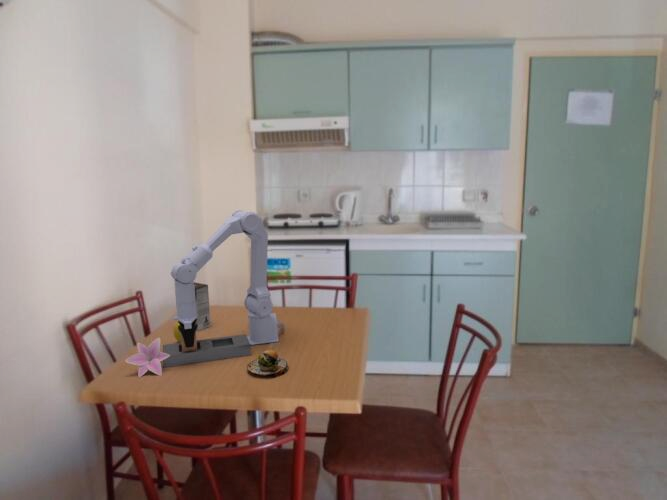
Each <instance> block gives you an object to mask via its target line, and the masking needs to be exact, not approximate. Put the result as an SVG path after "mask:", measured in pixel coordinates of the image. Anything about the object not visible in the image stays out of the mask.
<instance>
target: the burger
mask: <svg viewBox="0 0 667 500" xmlns="http://www.w3.org/2000/svg"><path fill="white" fill-rule="evenodd" d="M274 346H275V345H273V346H272V349H267V350H264V351H263V353H262V355H263V356H264V357H262V356H261V355H260V354H259V355H258V357H257V359H254V360H252V361H250V362H249V363H248V364H247V365H246V369H247V370H248V371H249V372H250V373H252V374H255V375H259V376H270V375H272V376H273V375H274V378H276V377H280V376H282V373H283V372H284V373H287V372H288V368H289V366H288V362H287V361H286V360H285V359H283V358H280V357H279V355H278V353H277V351H275V350H273V349H274Z"/></svg>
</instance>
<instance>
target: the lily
mask: <svg viewBox="0 0 667 500" xmlns="http://www.w3.org/2000/svg"><path fill="white" fill-rule="evenodd" d="M160 349H161V338H160V337H157V338H156V339H154V340H153V341H151V342H150V344H148V346H147V345H145V344H143V343H141V342H137V351H138V352H137V353H135V354H132V355H131V356H129V357H127V358H126V359H125V360H124V362H125V363H127V364H130V365H135V366H138V371H137V374H138V375H137V376H138V377H139V378H140V377H142V376H143V375H145V374H146V373H147V372H148V371H150V372H152V373H153V374H156V375H158V376H162V375H163V370H162V364H161V362H163V360H164V359H166V358H168V357H169V356H170V355H169V354H167V353H163V352H162V351H161V350H160Z"/></svg>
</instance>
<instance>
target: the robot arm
mask: <svg viewBox="0 0 667 500" xmlns="http://www.w3.org/2000/svg"><path fill="white" fill-rule="evenodd" d="M242 233H244V234H245V235H246V236H247V237H248V238H249V239H250V240H251V241H250V279H249V280H250V282H249V283H250V285H249V288H247V290H246V291H247V292H246V296H245V299H244V301H243V302H244V303H243V304H244V308H245V309H246V310H247V318H248V331H249V332H248V336H247V335H246V336H247V338H248V340H249V343H250V346H253V345H262V344H267V343H268V344H269V343H270V344H271V343H275V342H276V343H277V342H279V334H278V333H279V330H278V319H277V313H275V312H273V308H274V304H273V302H272V299H271V293H270V290H269V289H268V287H267V286H268V285H267V283H268V281H267V280H268V250H269V249H268V248H269V247H268V246H269V243H268V242H269V241H268V239H269V236H268V235H269V234H268V231H267V229H266V227H265V225H264V223H263V218H262V217H261V216H259V215H258V214H257V213H255V212H252V211H244V210H240V209H239V210H235V211H234V212H232V214H231V215H230V216H228V217H226V220H225V221H224V223H222V224H221V225H220V227H219V228H218V229H217V230H216V231H215V232H214V233H213V234H212V236H210V238H209V239H207V240H206V242H205V243H202V244H201V243H200V244H199V243H198V245H193V247H191V249H192V250H191V251H190V252H189V253H188V254H187V255H186V256H185V257H182V258H181V259H180V261H181V262H177V263H175V264H174V265H173V266H172V269H171V272H170V275H171V277H172V279H174V293H175V294H174V295H175V303H176V315H173V320H174V321H177V323H179V324H180V325H179V326H178V329H179V331H180V332H181V334H182V336H183V339H184V343H185V346H186V348H188V347H193V345H194V337H195V332H196V333H197V330H196V329H197V327H198V324H196V325H195V323H196V321H197V317H198V316H197V312H196V300H195V288H194V282H195V280H196V278H197V274H198V272H200V270H201V269H202V268H203V267H205V266H206V264H207V263H209V261H210V260H212V258H213V256H214V255H213V254H214V253H213V252H214V251H215V250H216V249H217V248H218V247H219V246H221V245H222V244H223V243H224V242H226V240H227V239H229V237H230V236H232V235H237V234H242Z"/></svg>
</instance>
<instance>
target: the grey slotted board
mask: <svg viewBox="0 0 667 500" xmlns="http://www.w3.org/2000/svg"><path fill="white" fill-rule="evenodd" d="M196 341H197V350H190V351H182V342H175V343H167V344H162V351H161V352H163V353H167V354H169V355H170V356H169V357H168V358H166V359H164V360H162V367H163V368H168V367H169V368H170V367H176V366H182V365H183V366H185V365H191V364H198V363H205V362H211V361H218V360H226V359H232V358H233V359H234V358H239V357H240V358H241V357H246V356H247V357H248V356H251V355H252V353H251V345H250V343H249V340H248V338H247V334H246V333H244V334H237V335H227V336H222V337H220V336H219V337H213V338H207V339H198V340H197V339H196Z"/></svg>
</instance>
